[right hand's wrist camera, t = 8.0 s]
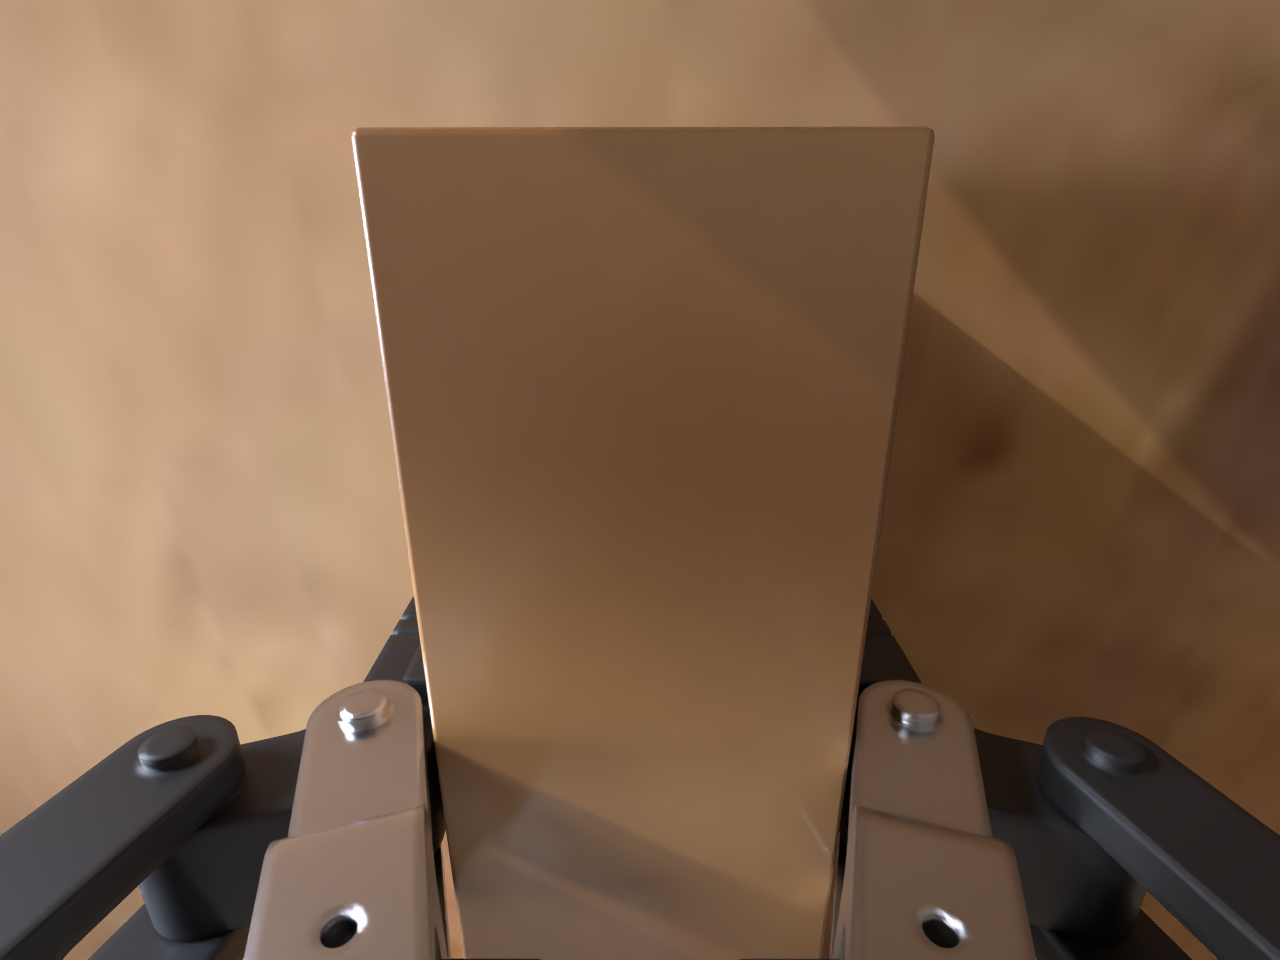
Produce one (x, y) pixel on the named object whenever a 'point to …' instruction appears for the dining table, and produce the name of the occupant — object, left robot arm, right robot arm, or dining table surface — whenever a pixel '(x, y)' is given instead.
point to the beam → (642, 509)
